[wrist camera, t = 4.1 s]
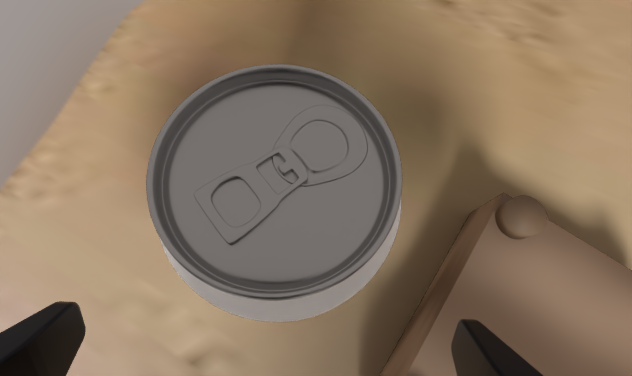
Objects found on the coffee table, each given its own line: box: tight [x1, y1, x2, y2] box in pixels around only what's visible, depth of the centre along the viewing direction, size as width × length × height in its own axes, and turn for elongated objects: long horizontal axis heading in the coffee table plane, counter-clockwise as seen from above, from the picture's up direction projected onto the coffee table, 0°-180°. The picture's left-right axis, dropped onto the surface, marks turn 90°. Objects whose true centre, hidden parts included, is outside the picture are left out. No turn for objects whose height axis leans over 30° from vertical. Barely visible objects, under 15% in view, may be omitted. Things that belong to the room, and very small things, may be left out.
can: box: [146, 64, 402, 322], centre depth 13 cm, size 6×6×12 cm
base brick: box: [380, 193, 632, 376], centre depth 15 cm, size 12×10×4 cm
